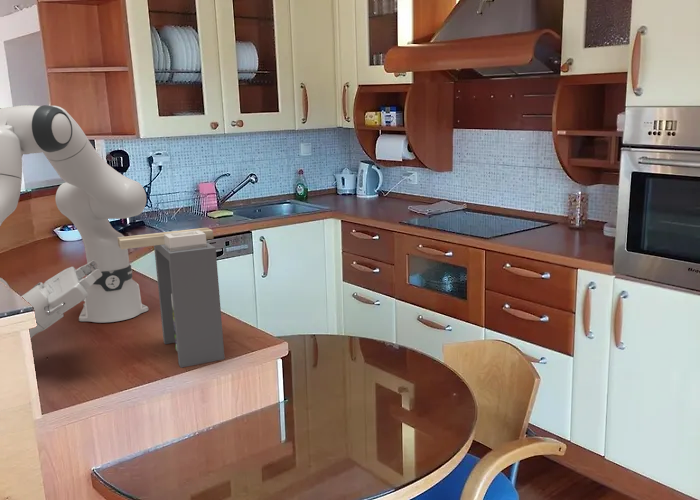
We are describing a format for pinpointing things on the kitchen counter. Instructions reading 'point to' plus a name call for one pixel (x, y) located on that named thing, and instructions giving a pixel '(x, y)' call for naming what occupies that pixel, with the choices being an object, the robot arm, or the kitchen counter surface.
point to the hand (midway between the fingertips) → (98, 267)
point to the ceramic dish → (185, 240)
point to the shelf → (190, 303)
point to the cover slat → (153, 239)
